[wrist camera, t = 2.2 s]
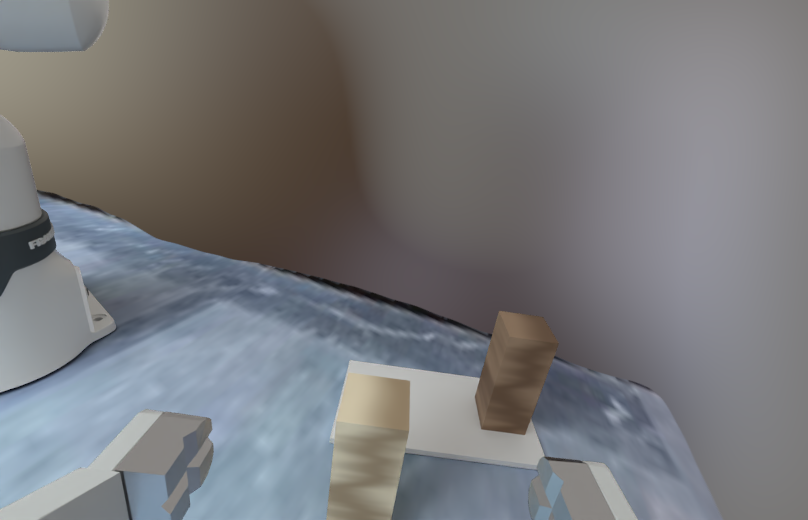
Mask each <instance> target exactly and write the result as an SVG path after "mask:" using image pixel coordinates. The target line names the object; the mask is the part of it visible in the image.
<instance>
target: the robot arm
mask: <svg viewBox="0 0 808 520" xmlns="http://www.w3.org/2000/svg"><path fill="white" fill-rule="evenodd" d="M108 12H109V0H0V49H2V50H8V51H15V52H65V51H85V50H87V49H88V48H89V47H91V46H92V45H93V44H94V43H95V42H96V41H97V40H98V38H99V37H100V36H101V34H102V32H103V30H104V28H105V25H106V22H107V18H108ZM54 233H55V232H54V228H53V225H52V223H51V222H50V219H49V216H48V214H47V212H46V211H45V210H43V209H41V207H40V203H39V199H38V195H37V190H36V186H35V182H34V178H33V173H32V169H31V165H30V161H29V156H28V153H27V148H26V144H25V141H24V139H23V137H22V136H21V134H20V133H19V131H18V130H17V129H16V128H15V126H13V125H12V124H11V123H10V122H9V121H8V120H7V119H6V118H4V117H3V116H2V115H0V392H3V391H6V390H9V389H12V388H15V387H18V386H21V385H23V384H26V383H29V382H31V381H34V380H36V379H38V378H40V377H43V376H45V375H47V374H49V373H51V372H53V371H55V370H56V369H58V368H60V367H62V366H63V365H65V364H66V363H68V362H69V361H71V360H72V359H73V358H75V357H76V356H77V355H78V354H79V353H80V352H82V351H83V350H84V349H85V348H86V347H87V346H88V345H89V344H91V343H92V342H94V341H96V340H98V339H100V338H102V337H104V336H106V335H107V334H109V333H111V332H112V331H114V330H115V329H116V325H115V322H114V319H113V318H112V317H111V316H110V314H109V313H108V312H107V311H106V310H105V309H104V308H103V306H102V305H101V304H100V303H99V302H98V301H97V299H96V298H95V297H94V296H93V295H92V294H91V292H90V291H89V290H88V289H87V288H86V287H85V286H84V284H83V279H82V275H81V271H80V269H79V267H77V266H74V265H73V264H72V262H71V261H70V260H69V259H67V258H65V257H64V256H63V255H61V254H60V253H59V252H58V251H57V250H56V249H55V248H56V242H55V238H54ZM211 431H212V424H211V419H209V418H207V417H200V416H193V415H186V414H179V413H172V412H163V411H156V410H148V409H145V410H143V411H141V412H139V413H138V414H137V415H136V416H135V417H134V418H133V419H132V420H131V421H130V422H129V423H128V425H127V426H126V427H125V428H124V429H123V430H122V431H121V432H120V433H119V434H118V435H117V436H116V438H115V439H114V440H113V441H112V442H111V443H110V444H109V445H108V446H107V447H106V448H105V449H104V450H103V452H102V453H101V454H100V455H99V456H98V457H97V458H96V459H95V460H94V461H93V462H92V463H91V465H90V466H89V467H88V468H78V469H76V470H74V471H73V472H71V473H69V474H67V475H65V476H63V477H61V478H59V479H57V480H55V481H53V482H52V483H50V484H48V485H46V486H44V487H42V488H40V489H38V490H36V491H34V492H32V493H30V494H29V495H27V496H25V497H23V498H21V499H19V500H17V501H15V502H13V503H11V504H9V505H8V506H6V507H4V508H2V509H0V520H182V519H183V517H184V515H185V514H186V512H187V510H188V508H189V507H190V497H189V495H190V494H191V493H193V492H194V491H195V490H197V489H198V488H200V487H201V486H202V484H203V482H204V480H205V478H206V476H207V474H208V472H209V469H210V466H211V463H212V459H213V452H214V451H213V443H212V442H211V441H210V439H209V438H208V436H209V434H210V432H211ZM536 468H537V470H538V473H539V476H537V477H536V478H534V479H533V480H532V481H531V484H530V487H529V494H528V504H529V511H530V515H531V519H532V520H638V519H637V517H636V515H635V514H634V512H633V510H632V508H631V507H630V505H629V503H628V501H627V500H626V498H625V496H624V494H623V493H622V491H621V489H620V487H619V486H618V484H617V482H616V480H615V479H614V477H613V475H612V473H611V471H610V470H609V468H608V467H607V466H606V465H605V464H604V463H598V462H589V461H580V460H572V459H562V458H553V457H542V458H541V459H540V460H539V462H538V464H537V467H536Z"/></svg>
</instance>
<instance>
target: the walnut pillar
mask: <svg viewBox="0 0 808 520" xmlns="http://www.w3.org/2000/svg"><path fill="white" fill-rule="evenodd" d="M557 347H558V341H557V340H556V338H555V336H554V335H553V333H552V332H551V330H550V328H549V326H548V325H547V323H546V321H545V320H544V318H543V317H539V316H531V315H524V314H518V313H510V312H503V311H499V314H498V317H497V320H496V324H495V327H494V331H493V334H492V338H491V341H490V345H489V348H488V352H487V355H486V359H485V363H484V366H483V370H482V373H481V377H480V380H479V384H478V387H477V391H476V394H475V401H476V406H477V411H478V416H479V421H480V426H481V429H482V430H490V431H497V432H505V433H512V434H520V435H525V434H526V431H527V428H528V425H529V423H530V420H531V417H532V415H533V412H534V409H535V407H536V404H537V401H538V398H539V396H540V393H541V390H542V388H543V385H544V382H545V380H546V377H547V374H548V371H549V369H550V366H551V363H552V361H553V358H554V355H555V352H556V350H557Z"/></svg>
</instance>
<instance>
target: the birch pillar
mask: <svg viewBox="0 0 808 520" xmlns="http://www.w3.org/2000/svg"><path fill="white" fill-rule="evenodd" d="M409 415H410V381H408V380H401V379H393V378H386V377H379V376H371V375H364V374H357V373H349V372H348V376H347V380H346V384H345V389H344V393H343V397H342V401H341V405H340V409H339V413H338V417H337V421H336V430H335V440H334V450H333V460H332V470H331V479H330V489H329V499H328V509H327V519H326V520H391V518H392V513H393V508H394V503H395V498H396V493H397V488H398V483H399V478H400V474H401V469H402V464H403V459H404V454H405V449H406V444H407V439H408V434H409Z"/></svg>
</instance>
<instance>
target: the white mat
mask: <svg viewBox="0 0 808 520" xmlns="http://www.w3.org/2000/svg"><path fill="white" fill-rule="evenodd" d="M348 372H349V373H357V374H364V375H371V376H379V377H386V378H393V379H401V380H408V381H410V415H409V434H408V439H407V444H406V449H405V453H410V454H418V455H425V456H433V457H441V458H448V459H456V460H464V461H471V462H479V463H487V464H494V465H502V466H509V467H517V468H525V469H532V470H537V468H536V467H537V464H538V462H539V460H540V459H541V458H542V457H545V455H544V453H543V450H542V447H541V444H540V442H539V439H538V436H537V433H536V431H535V428H534V425H533V423H532V420H530V423H529V425H528V428H527V431H526V434H525V435H520V434H512V433H505V432H497V431H490V430H482V429H481V426H480V421H479V416H478V411H477V406H476V401H475V394H476V391H477V387H478V384H479V380H480V378H476V377H468V376H461V375H454V374H447V373H439V372H432V371H425V370H418V369H410V368H403V367H396V366H388V365H381V364H374V363H367V362H359V361H352V360H350V362H349V366H348V370H347V374H346V378H345V381H344V385H343V389H342V393H341V397H340V401H339V405H338V409H337V413H336V417H335V421H334V424H333V428H332V432H331V436H330V443H333V444H334V440H335V430H336V421H337V417H338V413H339V409H340V405H341V401H342V397H343V393H344V389H345V384H346V380H347V376H348Z"/></svg>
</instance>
